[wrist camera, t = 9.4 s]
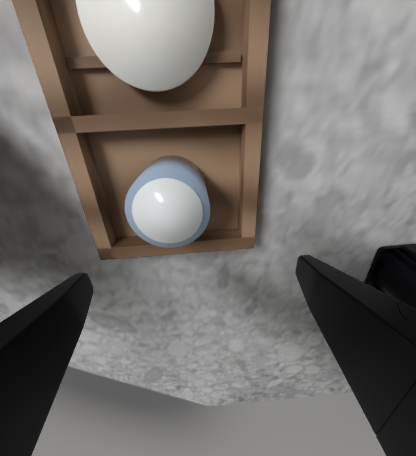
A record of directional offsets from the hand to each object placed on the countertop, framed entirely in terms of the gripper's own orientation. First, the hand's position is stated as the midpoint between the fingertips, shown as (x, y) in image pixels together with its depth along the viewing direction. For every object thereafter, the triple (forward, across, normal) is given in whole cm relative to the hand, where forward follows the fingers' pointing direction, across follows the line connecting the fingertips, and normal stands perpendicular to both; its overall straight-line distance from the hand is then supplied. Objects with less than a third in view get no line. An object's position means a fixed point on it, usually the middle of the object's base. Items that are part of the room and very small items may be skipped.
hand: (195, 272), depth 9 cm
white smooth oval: (+11, +2, -11) cm, 15 cm away
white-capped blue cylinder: (+11, +2, 0) cm, 11 cm away
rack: (+12, +2, -6) cm, 13 cm away
